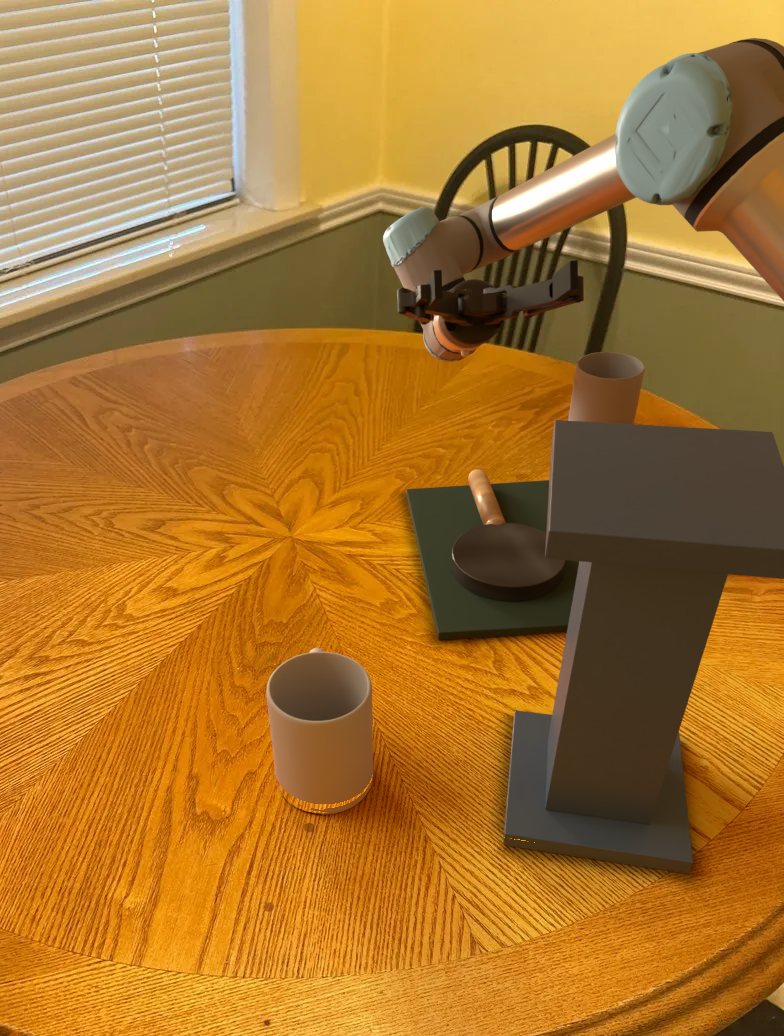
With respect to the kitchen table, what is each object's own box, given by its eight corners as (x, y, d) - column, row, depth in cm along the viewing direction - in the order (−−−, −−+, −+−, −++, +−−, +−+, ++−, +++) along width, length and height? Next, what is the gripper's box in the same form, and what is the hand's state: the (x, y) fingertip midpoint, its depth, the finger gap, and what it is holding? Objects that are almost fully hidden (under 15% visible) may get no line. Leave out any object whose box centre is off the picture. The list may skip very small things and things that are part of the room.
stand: (675, 741, 78) (773, 431, 59) (689, 874, 68) (812, 552, 49) (513, 721, 81) (554, 419, 62) (502, 845, 71) (548, 530, 52)
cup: (618, 456, 116) (631, 384, 110) (557, 442, 120) (567, 371, 113) (638, 429, 121) (652, 358, 115) (579, 416, 125) (590, 347, 118)
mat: (406, 495, 112) (406, 488, 111) (549, 486, 111) (550, 479, 111) (438, 640, 90) (438, 632, 90) (615, 629, 90) (617, 622, 89)
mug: (378, 812, 74) (377, 720, 67) (276, 819, 74) (265, 727, 67) (365, 710, 83) (364, 620, 76) (274, 716, 83) (264, 626, 76)
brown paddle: (576, 598, 93) (579, 579, 91) (461, 605, 93) (462, 587, 91) (523, 479, 111) (525, 462, 110) (427, 485, 111) (428, 468, 110)
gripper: (569, 341, 111) (630, 310, 90) (369, 355, 111) (383, 327, 90) (568, 278, 109) (630, 230, 88) (366, 292, 110) (380, 248, 89)
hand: (506, 279), depth 89 cm, fingers open, 13 cm apart
